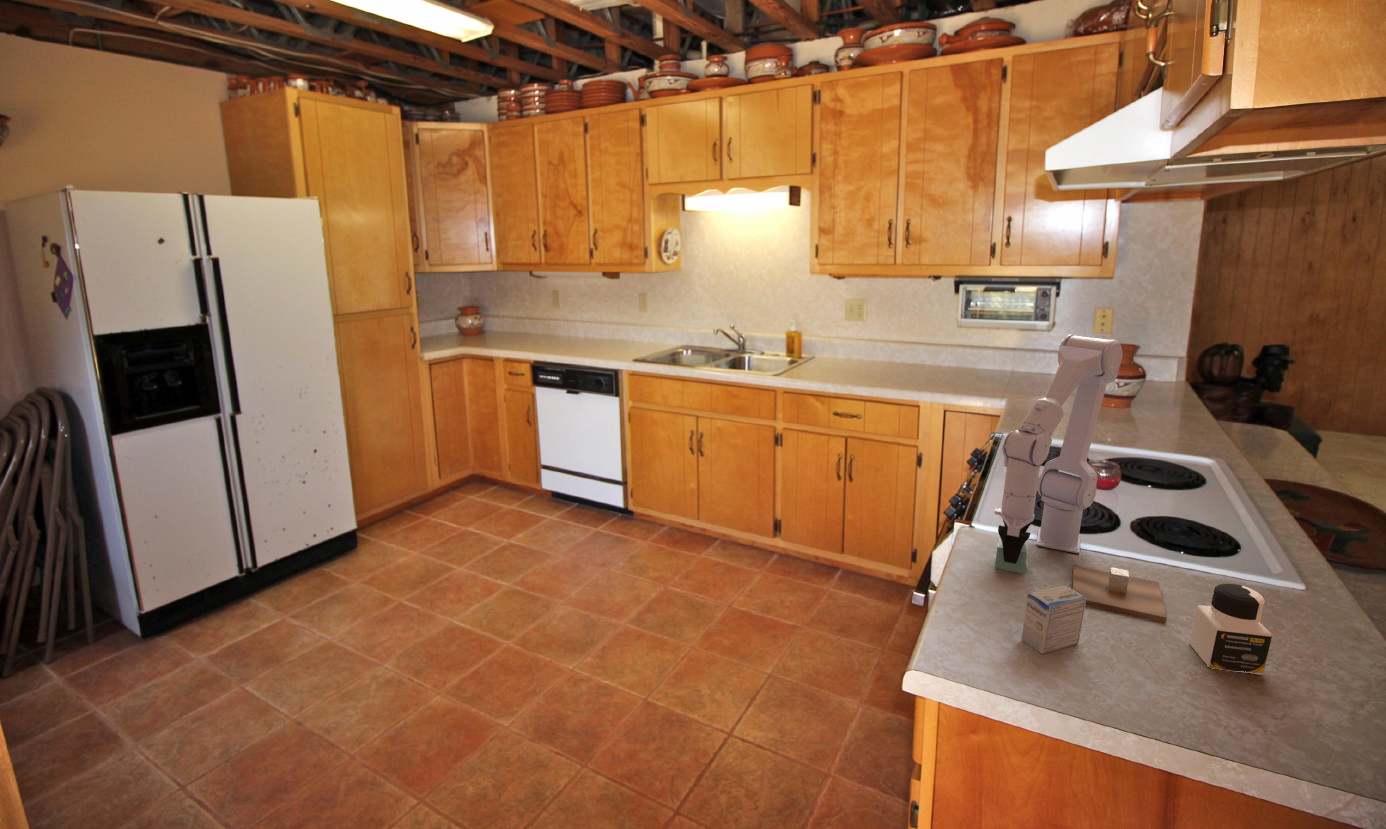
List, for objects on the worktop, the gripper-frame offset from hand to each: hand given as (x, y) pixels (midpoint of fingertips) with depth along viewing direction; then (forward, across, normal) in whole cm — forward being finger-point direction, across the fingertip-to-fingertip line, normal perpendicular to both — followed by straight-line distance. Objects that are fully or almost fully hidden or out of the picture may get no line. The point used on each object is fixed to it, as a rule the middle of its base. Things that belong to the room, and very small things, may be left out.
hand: (1011, 556), depth 137 cm
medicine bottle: (+2, +18, +32) cm, 37 cm away
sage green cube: (+2, 0, 0) cm, 2 cm away
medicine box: (+2, +26, +8) cm, 27 cm away
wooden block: (+2, +3, +18) cm, 18 cm away
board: (+2, +3, +18) cm, 18 cm away
